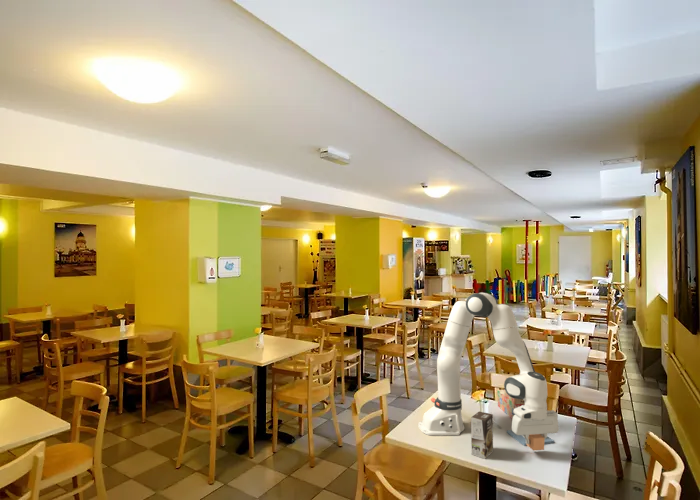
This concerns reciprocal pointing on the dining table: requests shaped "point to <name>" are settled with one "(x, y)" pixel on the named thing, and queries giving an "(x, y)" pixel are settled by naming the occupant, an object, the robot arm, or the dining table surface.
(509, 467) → the dining table surface
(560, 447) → the dining table surface
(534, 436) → the terracotta cube
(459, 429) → the robot arm
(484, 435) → the coffee box
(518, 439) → the slate-blue board
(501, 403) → the colourful patterned carton
